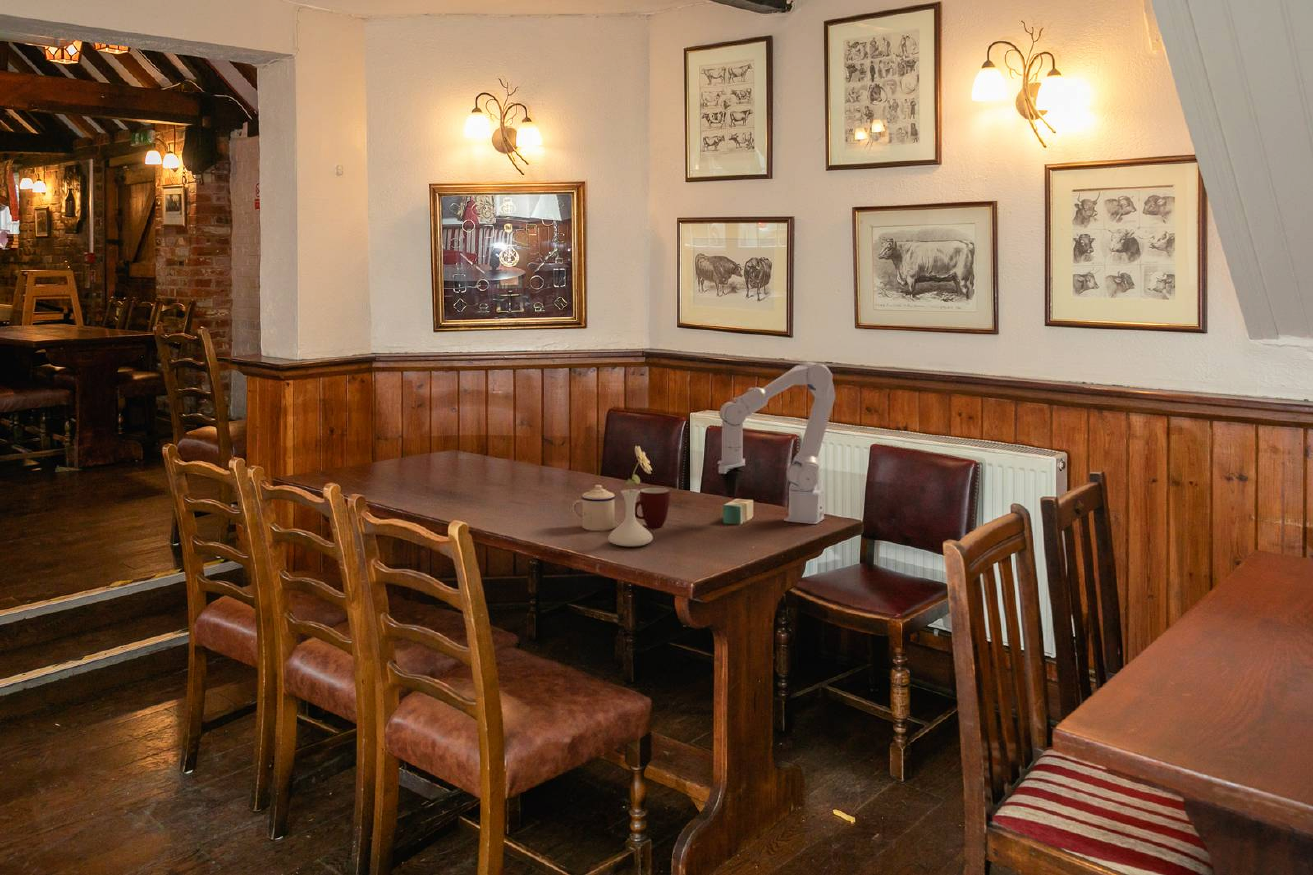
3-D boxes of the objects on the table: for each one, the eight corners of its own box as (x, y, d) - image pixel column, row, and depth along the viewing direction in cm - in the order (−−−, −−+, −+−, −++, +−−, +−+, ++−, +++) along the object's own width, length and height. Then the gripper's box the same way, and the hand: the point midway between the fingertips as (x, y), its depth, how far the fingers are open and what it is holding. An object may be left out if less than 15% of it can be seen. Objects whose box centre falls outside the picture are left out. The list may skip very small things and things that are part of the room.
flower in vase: (637, 552, 270) (636, 452, 266) (599, 546, 276) (598, 448, 272) (664, 541, 281) (664, 445, 277) (627, 536, 286) (627, 441, 283)
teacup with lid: (619, 525, 299) (619, 483, 297) (608, 532, 290) (608, 489, 289) (579, 522, 303) (578, 481, 301) (566, 529, 294) (566, 487, 292)
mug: (643, 532, 290) (643, 495, 289) (626, 526, 297) (626, 490, 295) (675, 527, 296) (675, 491, 295) (658, 521, 303) (658, 486, 302)
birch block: (739, 524, 300) (753, 517, 309) (740, 506, 299) (753, 500, 308) (723, 522, 302) (736, 515, 311) (723, 505, 301) (736, 498, 310)
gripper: (728, 441, 306) (728, 489, 308) (708, 449, 293) (707, 498, 295) (752, 443, 303) (751, 491, 305) (732, 450, 290) (732, 501, 292)
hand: (731, 495), depth 300 cm, fingers closed
